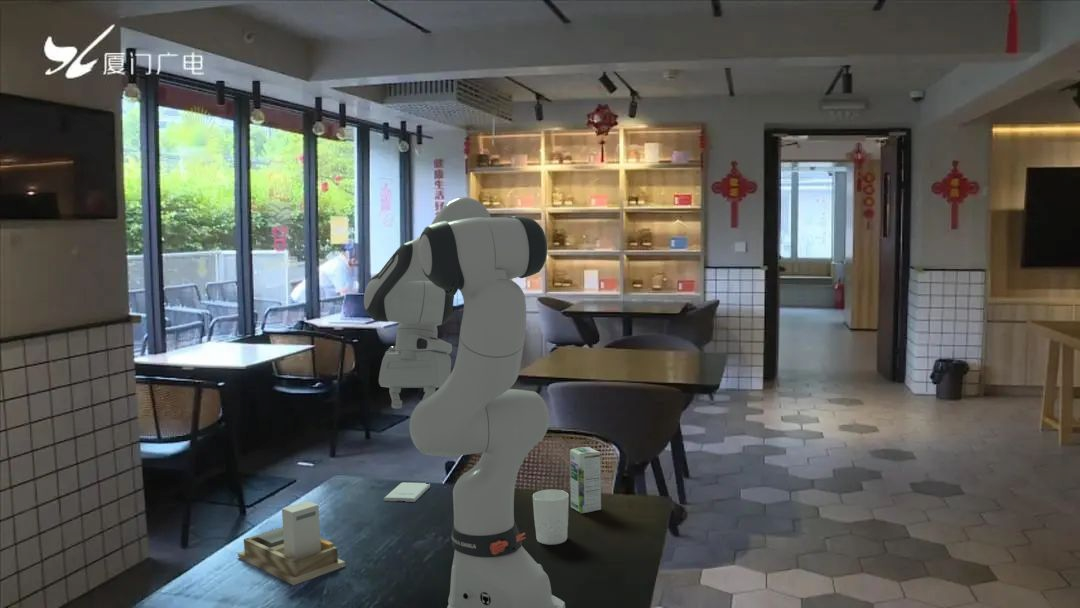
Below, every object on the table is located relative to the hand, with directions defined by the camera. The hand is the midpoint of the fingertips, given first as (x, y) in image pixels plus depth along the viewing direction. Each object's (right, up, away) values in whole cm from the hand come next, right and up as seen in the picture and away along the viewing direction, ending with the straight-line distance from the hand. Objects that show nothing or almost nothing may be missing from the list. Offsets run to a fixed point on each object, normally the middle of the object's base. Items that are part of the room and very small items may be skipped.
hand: (410, 408), depth 186 cm
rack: (-24, -32, -5) cm, 40 cm away
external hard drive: (-7, -28, +39) cm, 48 cm away
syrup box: (+39, -27, +23) cm, 53 cm away
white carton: (-21, -31, -8) cm, 38 cm away
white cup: (+31, -29, +4) cm, 43 cm away
